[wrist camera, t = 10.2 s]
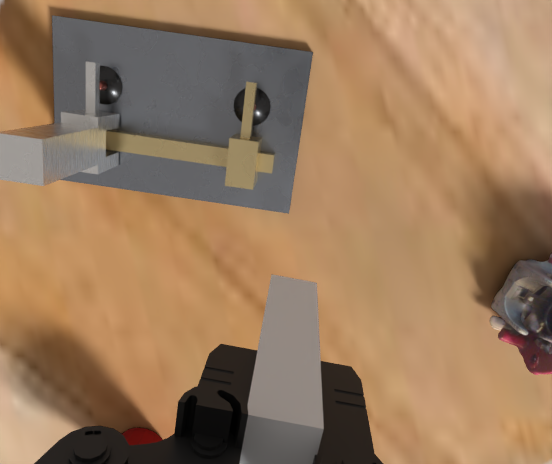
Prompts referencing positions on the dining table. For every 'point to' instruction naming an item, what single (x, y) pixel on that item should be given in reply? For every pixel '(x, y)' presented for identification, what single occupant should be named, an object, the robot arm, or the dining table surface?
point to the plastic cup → (140, 436)
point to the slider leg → (62, 142)
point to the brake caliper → (527, 313)
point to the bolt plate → (185, 105)
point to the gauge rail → (207, 148)
